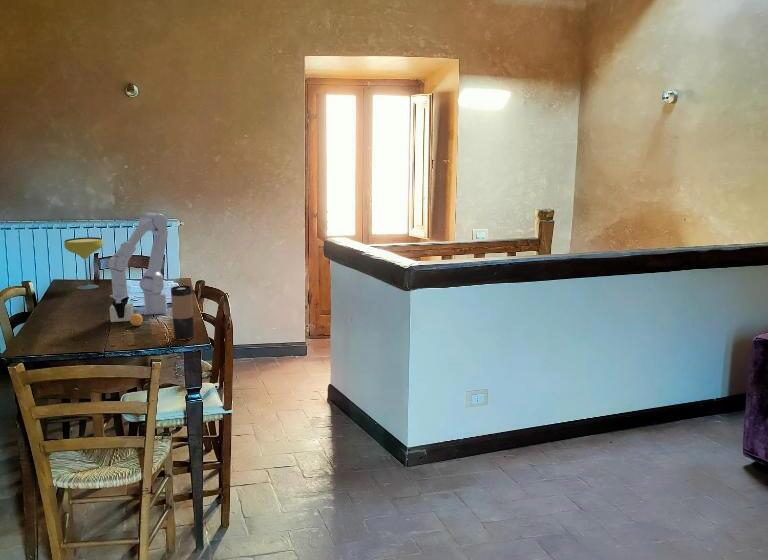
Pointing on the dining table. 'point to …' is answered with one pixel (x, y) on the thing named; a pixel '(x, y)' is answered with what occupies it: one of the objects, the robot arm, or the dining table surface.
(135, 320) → the ball
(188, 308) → the travel mug
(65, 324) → the dining table surface
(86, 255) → the cocktail glass
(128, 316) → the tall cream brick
